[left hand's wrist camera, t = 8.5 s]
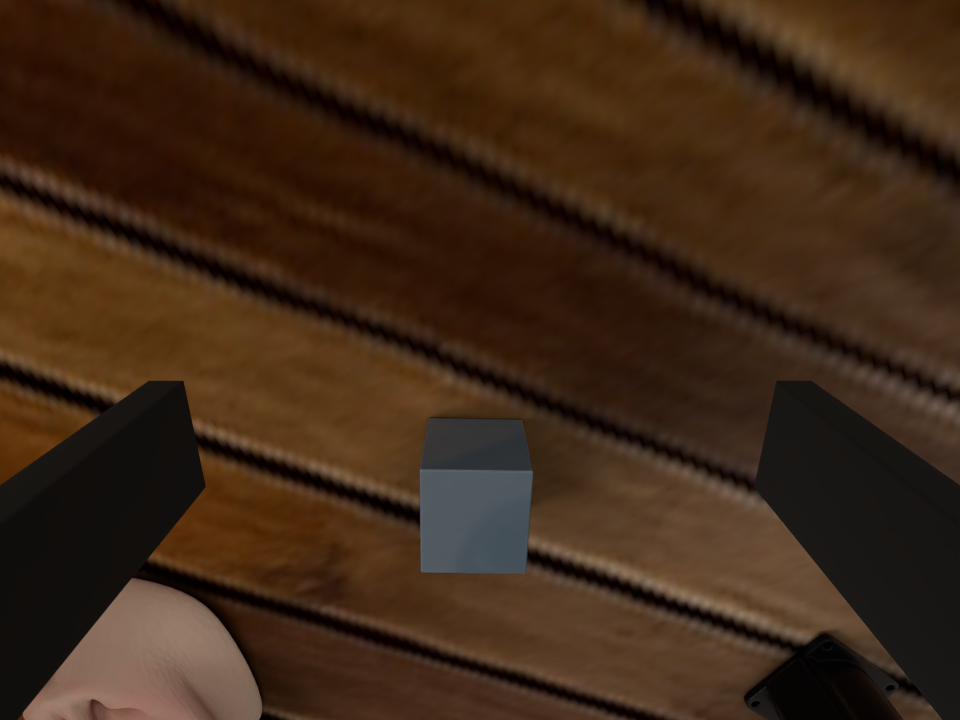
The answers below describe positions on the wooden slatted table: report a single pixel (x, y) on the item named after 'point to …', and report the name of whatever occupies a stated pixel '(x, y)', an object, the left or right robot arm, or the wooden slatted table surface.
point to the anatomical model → (152, 665)
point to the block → (475, 496)
